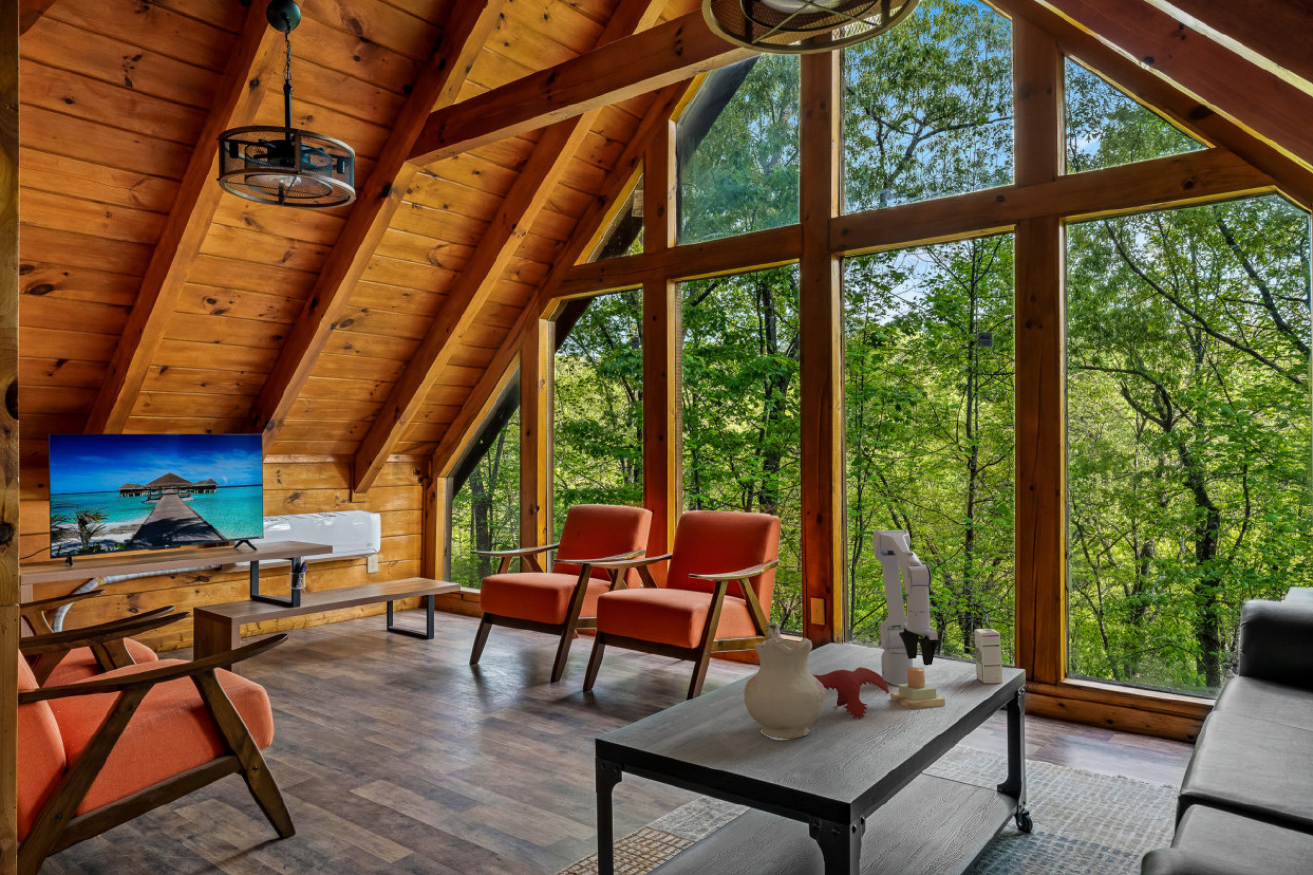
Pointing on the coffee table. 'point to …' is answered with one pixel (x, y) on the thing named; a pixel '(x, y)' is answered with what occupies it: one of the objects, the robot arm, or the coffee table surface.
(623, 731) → the coffee table surface
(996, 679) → the syrup box
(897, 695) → the maple slab
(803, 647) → the ceramic pitcher
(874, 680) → the decorative bird sculpture
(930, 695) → the sage slab
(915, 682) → the peach domed cylinder
